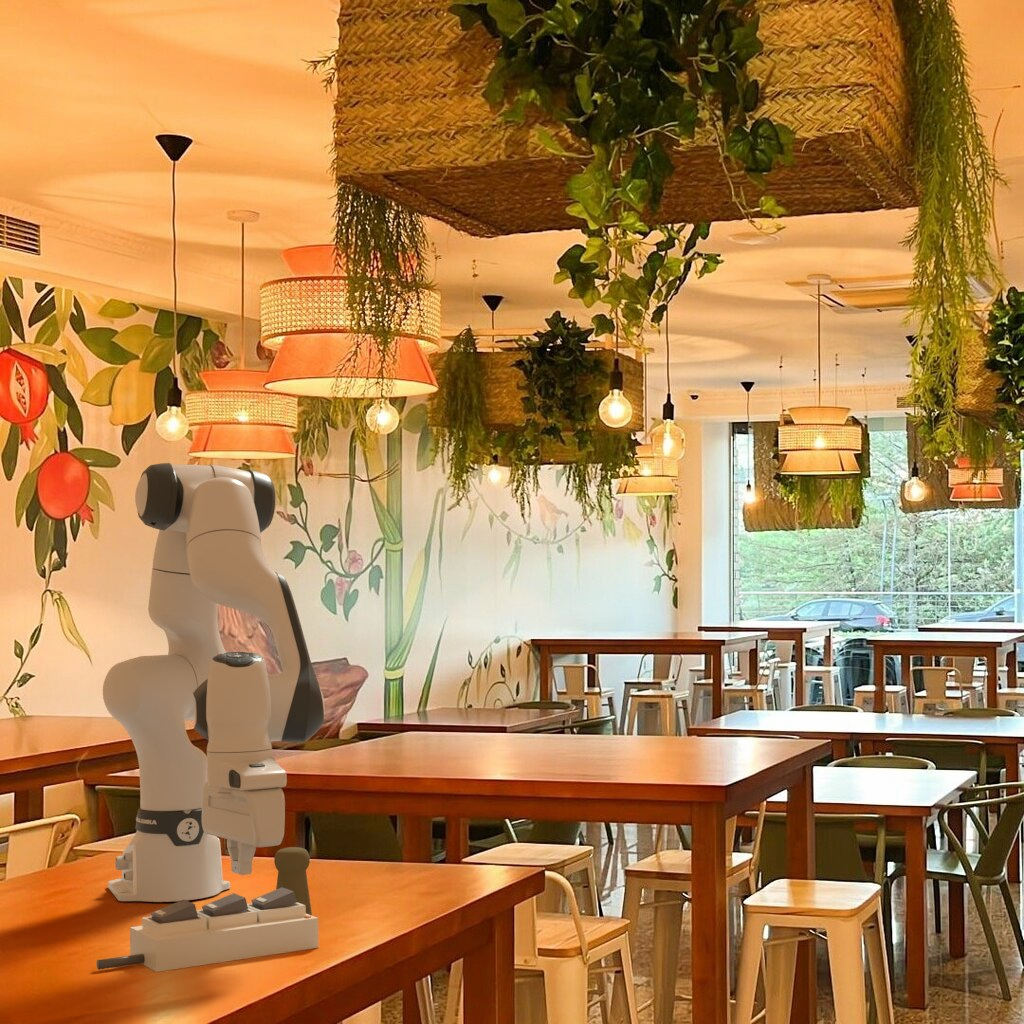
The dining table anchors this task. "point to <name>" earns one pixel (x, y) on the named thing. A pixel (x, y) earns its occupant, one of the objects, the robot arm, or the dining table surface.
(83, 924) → the dining table surface
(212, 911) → the rocker
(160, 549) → the robot arm
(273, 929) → the switch strip
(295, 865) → the cork
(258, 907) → the rocker
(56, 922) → the dining table surface
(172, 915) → the rocker
